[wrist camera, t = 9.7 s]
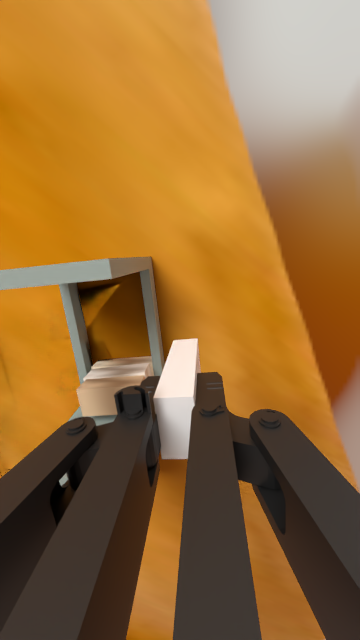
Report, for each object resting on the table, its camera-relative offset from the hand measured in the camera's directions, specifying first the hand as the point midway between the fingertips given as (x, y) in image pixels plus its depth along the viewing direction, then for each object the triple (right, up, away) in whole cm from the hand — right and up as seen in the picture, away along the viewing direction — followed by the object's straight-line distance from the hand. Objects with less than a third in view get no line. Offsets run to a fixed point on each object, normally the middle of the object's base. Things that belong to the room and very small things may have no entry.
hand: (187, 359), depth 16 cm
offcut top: (-7, -5, +11) cm, 14 cm away
